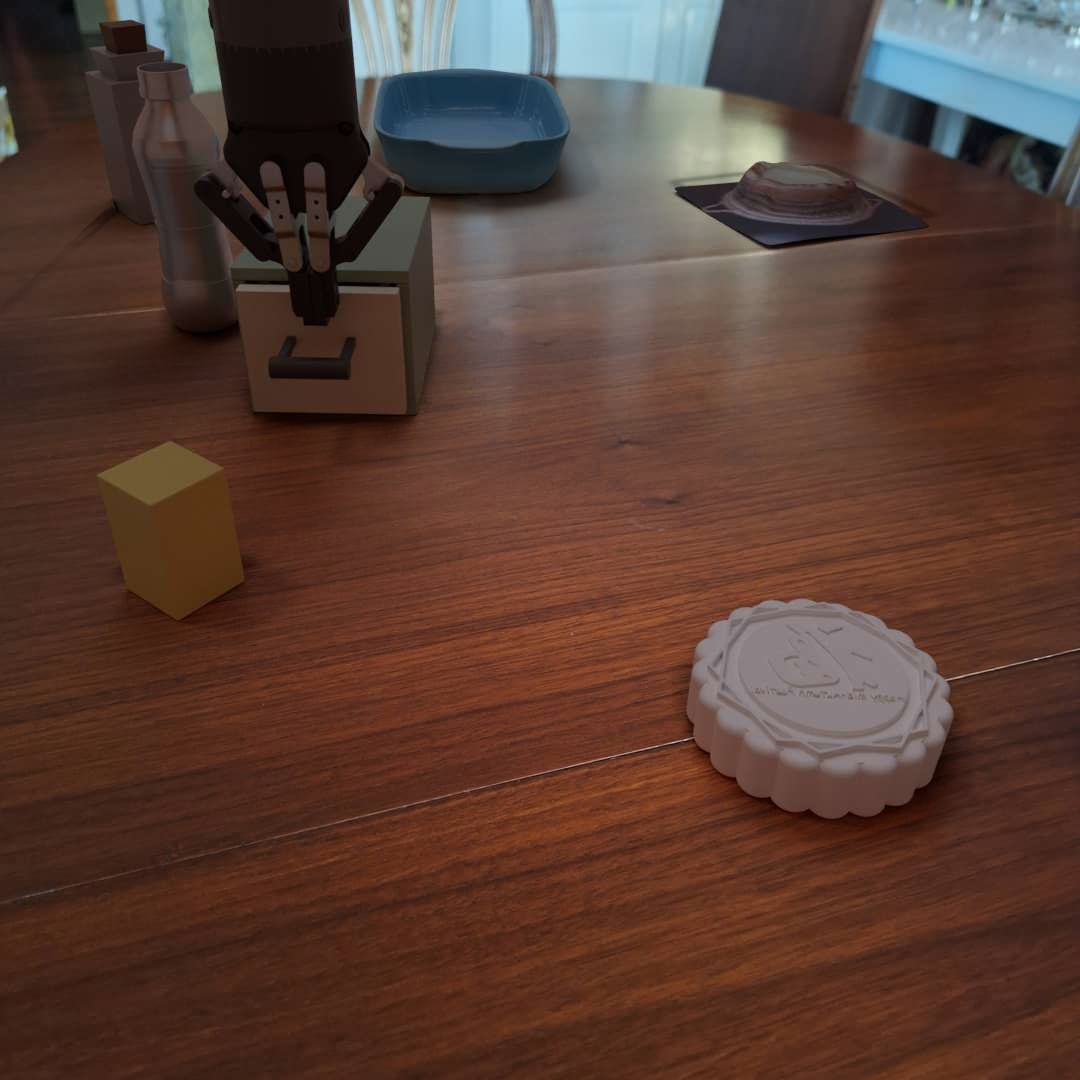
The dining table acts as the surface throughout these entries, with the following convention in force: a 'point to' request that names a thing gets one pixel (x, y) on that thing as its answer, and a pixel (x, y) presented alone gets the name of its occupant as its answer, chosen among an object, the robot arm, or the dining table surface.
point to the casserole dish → (471, 130)
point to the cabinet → (378, 277)
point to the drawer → (324, 351)
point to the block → (173, 528)
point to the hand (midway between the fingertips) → (317, 321)
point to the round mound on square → (798, 205)
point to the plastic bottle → (183, 200)
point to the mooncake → (818, 707)
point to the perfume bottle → (121, 110)
